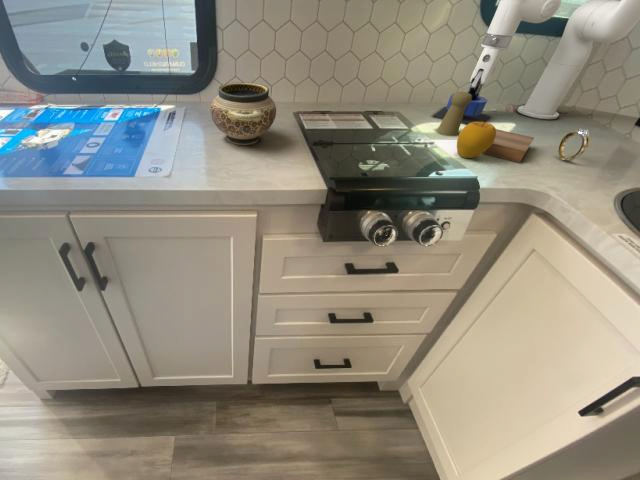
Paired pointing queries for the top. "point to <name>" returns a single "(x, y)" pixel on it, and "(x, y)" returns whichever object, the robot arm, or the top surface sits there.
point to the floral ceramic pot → (243, 112)
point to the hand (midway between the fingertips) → (467, 105)
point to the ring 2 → (584, 146)
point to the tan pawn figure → (455, 114)
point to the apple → (475, 139)
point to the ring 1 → (472, 106)
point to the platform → (509, 145)
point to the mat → (465, 119)
